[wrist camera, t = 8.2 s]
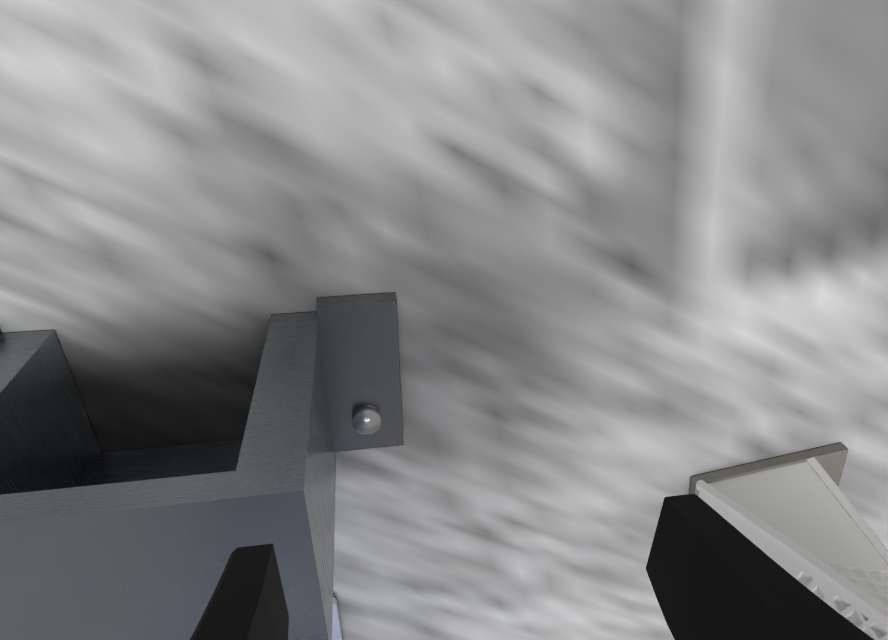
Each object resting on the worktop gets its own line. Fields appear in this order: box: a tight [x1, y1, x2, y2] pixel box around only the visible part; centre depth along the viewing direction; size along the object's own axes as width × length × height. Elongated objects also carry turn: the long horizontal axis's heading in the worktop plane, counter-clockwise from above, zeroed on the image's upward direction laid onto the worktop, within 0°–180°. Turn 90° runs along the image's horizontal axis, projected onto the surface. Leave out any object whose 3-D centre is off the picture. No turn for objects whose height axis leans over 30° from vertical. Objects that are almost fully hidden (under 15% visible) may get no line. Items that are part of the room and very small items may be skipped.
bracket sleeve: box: [0, 293, 403, 640], centre depth 16 cm, size 6×14×8 cm, turn 90°
